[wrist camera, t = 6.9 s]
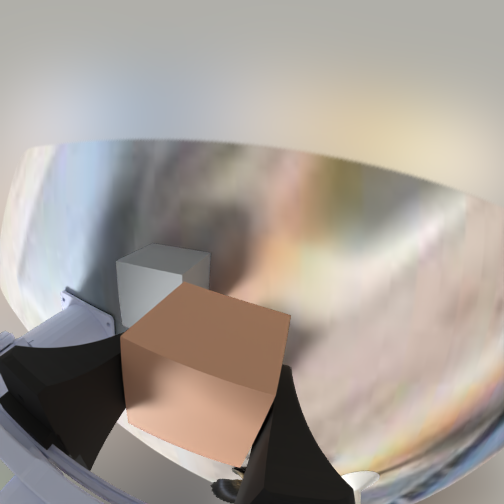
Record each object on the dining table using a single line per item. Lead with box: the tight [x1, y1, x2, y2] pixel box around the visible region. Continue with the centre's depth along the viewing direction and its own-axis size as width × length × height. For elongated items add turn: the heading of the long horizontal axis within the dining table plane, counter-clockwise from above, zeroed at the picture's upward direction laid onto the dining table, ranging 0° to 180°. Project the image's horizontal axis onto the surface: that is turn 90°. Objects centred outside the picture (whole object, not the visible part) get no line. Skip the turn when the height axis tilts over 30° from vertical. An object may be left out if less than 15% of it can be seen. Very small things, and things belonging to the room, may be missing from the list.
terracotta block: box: [120, 282, 291, 468], centre depth 10 cm, size 5×5×5 cm
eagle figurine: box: [211, 468, 244, 504], centre depth 24 cm, size 8×7×9 cm
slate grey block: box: [116, 243, 211, 328], centre depth 19 cm, size 5×5×5 cm
